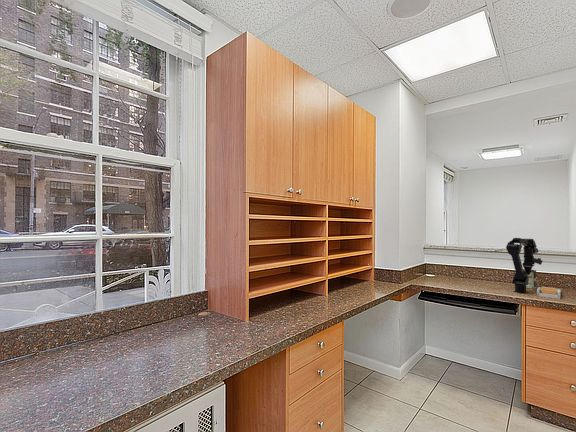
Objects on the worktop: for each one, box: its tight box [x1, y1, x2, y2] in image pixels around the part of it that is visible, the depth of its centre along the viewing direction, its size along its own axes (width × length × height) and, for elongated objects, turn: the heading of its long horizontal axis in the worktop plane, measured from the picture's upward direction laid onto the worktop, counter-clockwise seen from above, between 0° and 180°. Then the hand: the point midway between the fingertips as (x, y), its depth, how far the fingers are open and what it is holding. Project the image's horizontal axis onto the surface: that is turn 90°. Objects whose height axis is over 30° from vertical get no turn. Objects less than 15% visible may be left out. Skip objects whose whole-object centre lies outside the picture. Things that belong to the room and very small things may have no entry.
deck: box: [536, 286, 562, 300], centre depth 226 cm, size 28×12×4 cm, turn 137°
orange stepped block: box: [541, 286, 556, 295], centre depth 220 cm, size 6×8×6 cm
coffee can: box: [523, 268, 538, 289], centre depth 253 cm, size 10×10×14 cm
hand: (528, 274), depth 240 cm, fingers open, 9 cm apart
